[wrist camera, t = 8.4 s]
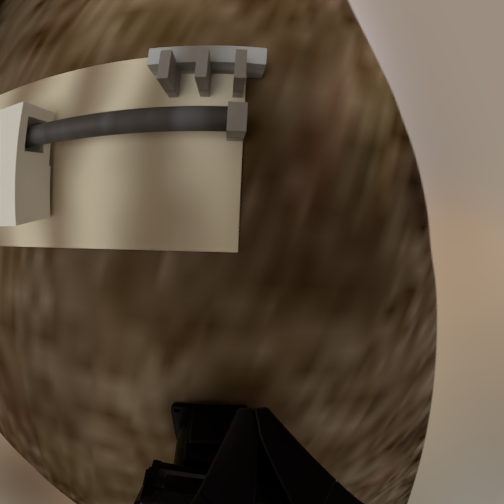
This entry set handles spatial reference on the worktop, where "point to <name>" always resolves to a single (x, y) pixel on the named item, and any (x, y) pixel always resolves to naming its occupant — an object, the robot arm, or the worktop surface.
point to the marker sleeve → (23, 166)
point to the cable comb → (143, 151)
